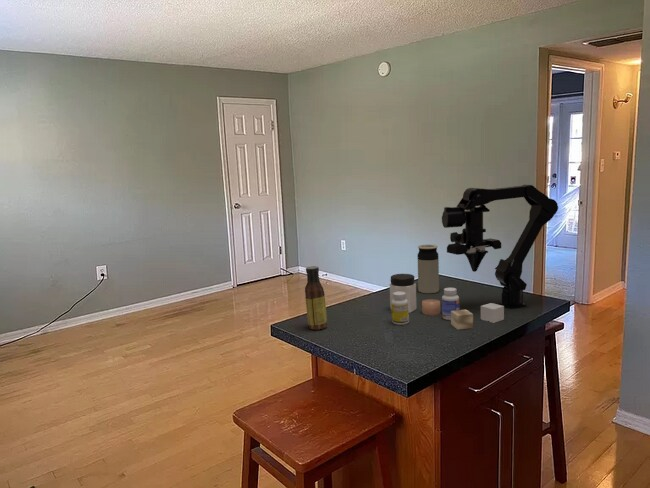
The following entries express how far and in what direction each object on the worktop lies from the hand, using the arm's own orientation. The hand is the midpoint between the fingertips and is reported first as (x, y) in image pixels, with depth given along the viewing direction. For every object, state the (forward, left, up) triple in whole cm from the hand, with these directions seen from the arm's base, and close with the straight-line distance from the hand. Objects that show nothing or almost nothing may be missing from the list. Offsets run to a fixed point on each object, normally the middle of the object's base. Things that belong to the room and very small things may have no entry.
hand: (474, 271), depth 168 cm
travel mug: (0, -27, -13) cm, 30 cm away
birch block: (+15, +12, -13) cm, 23 cm away
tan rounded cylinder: (+15, -4, -13) cm, 20 cm away
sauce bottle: (+54, -11, -13) cm, 57 cm away
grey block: (+3, +12, -13) cm, 18 cm away
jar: (+21, -12, -13) cm, 28 cm away
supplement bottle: (+29, -1, -13) cm, 32 cm away
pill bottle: (+13, +4, -13) cm, 19 cm away
